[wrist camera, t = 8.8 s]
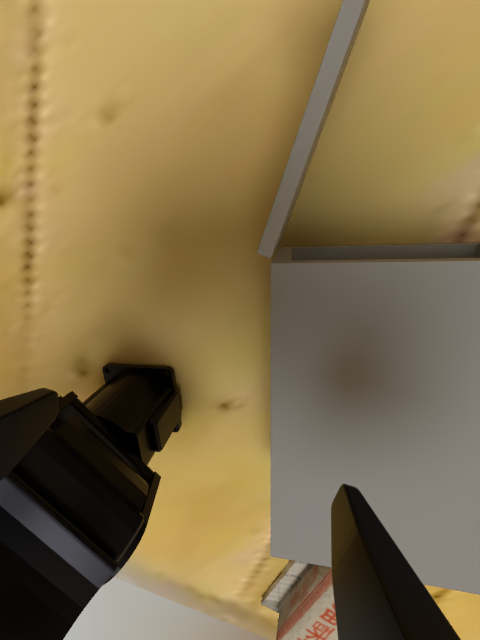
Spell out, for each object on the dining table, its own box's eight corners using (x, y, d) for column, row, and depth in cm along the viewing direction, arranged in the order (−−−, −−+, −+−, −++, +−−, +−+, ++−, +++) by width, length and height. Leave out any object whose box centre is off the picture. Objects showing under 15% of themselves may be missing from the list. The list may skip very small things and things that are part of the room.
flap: (279, 244, 18) (259, 277, 7) (265, 239, 18) (223, 263, 7) (367, 5, 13) (678, -894, 3) (348, -1, 13) (572, -903, 3)
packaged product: (348, 695, 27) (256, 651, 28) (340, 628, 32) (261, 591, 32) (467, 613, 20) (343, 557, 21) (436, 543, 25) (334, 497, 25)
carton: (277, 453, 24) (270, 556, 17) (279, 247, 18) (270, 263, 11) (427, 471, 22) (496, 597, 14) (484, 242, 16) (648, 258, 9)
